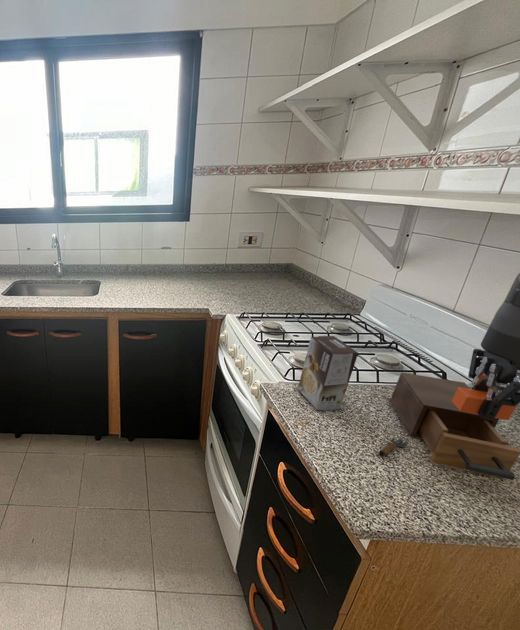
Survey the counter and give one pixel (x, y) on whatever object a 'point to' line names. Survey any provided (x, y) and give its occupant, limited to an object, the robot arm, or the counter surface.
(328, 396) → the coffee box
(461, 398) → the orange block
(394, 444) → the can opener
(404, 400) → the cabinet
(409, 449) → the counter surface
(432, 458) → the drawer
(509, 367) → the robot arm
